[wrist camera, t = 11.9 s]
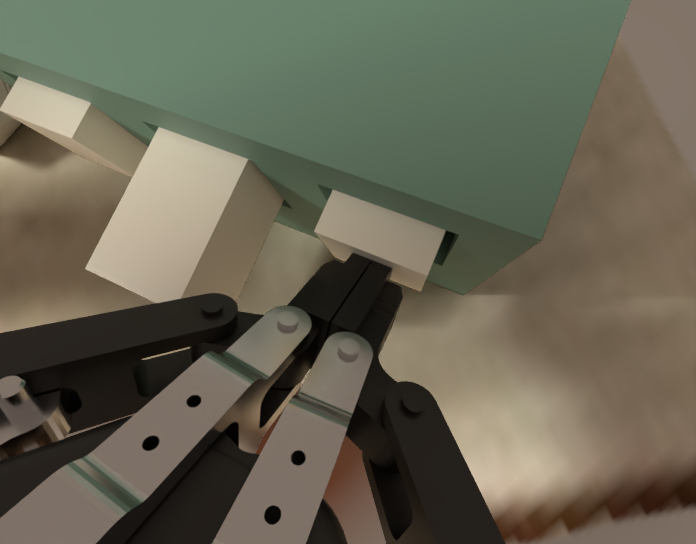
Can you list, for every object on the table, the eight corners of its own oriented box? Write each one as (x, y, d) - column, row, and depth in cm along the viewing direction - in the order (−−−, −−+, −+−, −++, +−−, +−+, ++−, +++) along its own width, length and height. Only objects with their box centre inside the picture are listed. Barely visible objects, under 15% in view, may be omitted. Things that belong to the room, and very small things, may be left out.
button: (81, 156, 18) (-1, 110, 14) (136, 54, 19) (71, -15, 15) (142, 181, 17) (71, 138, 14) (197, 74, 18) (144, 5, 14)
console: (134, 166, 24) (-383, -170, 8) (202, 37, 25) (-138, -479, 9) (462, 295, 19) (732, 105, 4) (527, 130, 20) (949, -562, 5)
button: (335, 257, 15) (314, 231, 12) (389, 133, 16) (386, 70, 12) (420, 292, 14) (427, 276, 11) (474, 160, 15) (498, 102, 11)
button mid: (157, 284, 16) (84, 268, 12) (215, 166, 17) (163, 118, 13) (228, 318, 15) (174, 311, 12) (286, 193, 16) (252, 149, 12)
